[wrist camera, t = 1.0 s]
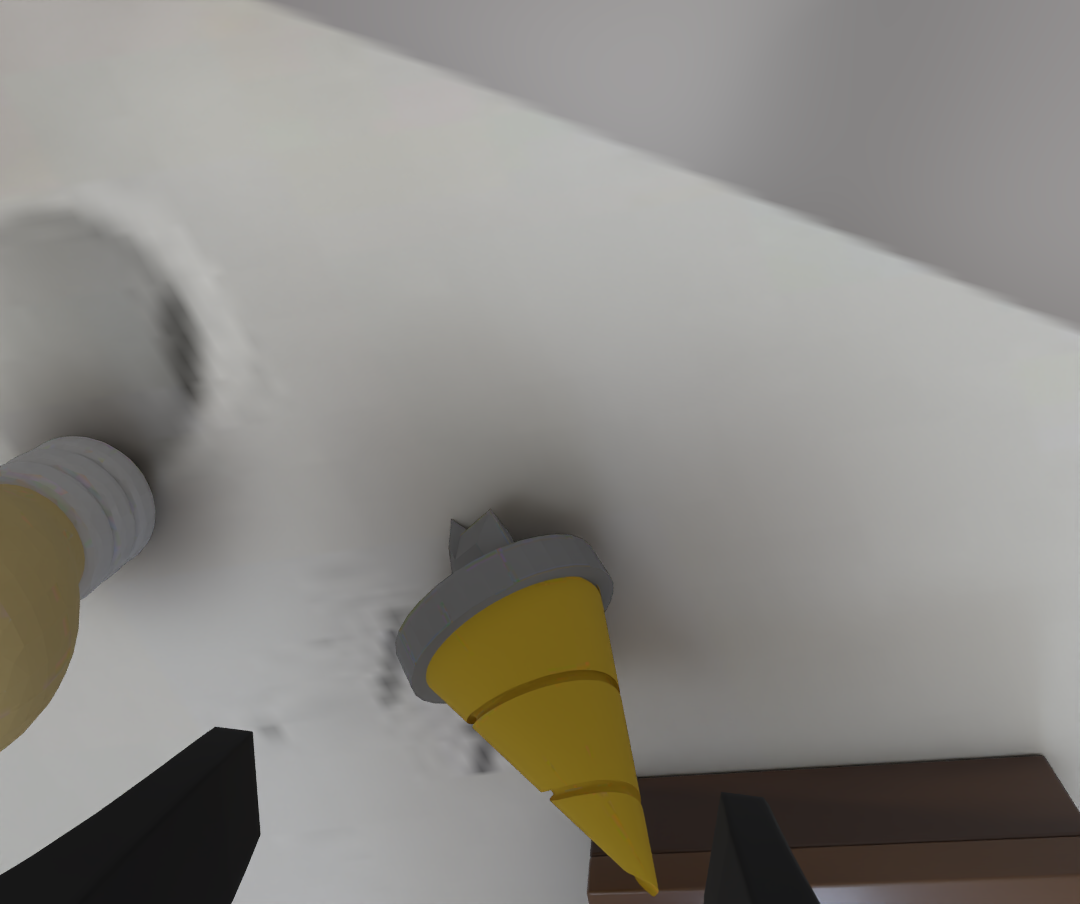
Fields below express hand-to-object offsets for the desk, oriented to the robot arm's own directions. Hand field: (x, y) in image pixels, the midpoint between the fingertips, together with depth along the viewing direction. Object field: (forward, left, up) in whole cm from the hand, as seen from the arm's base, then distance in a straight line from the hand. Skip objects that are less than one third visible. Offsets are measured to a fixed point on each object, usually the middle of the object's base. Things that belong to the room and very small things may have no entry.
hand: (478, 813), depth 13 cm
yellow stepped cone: (-2, 0, -10) cm, 10 cm away
